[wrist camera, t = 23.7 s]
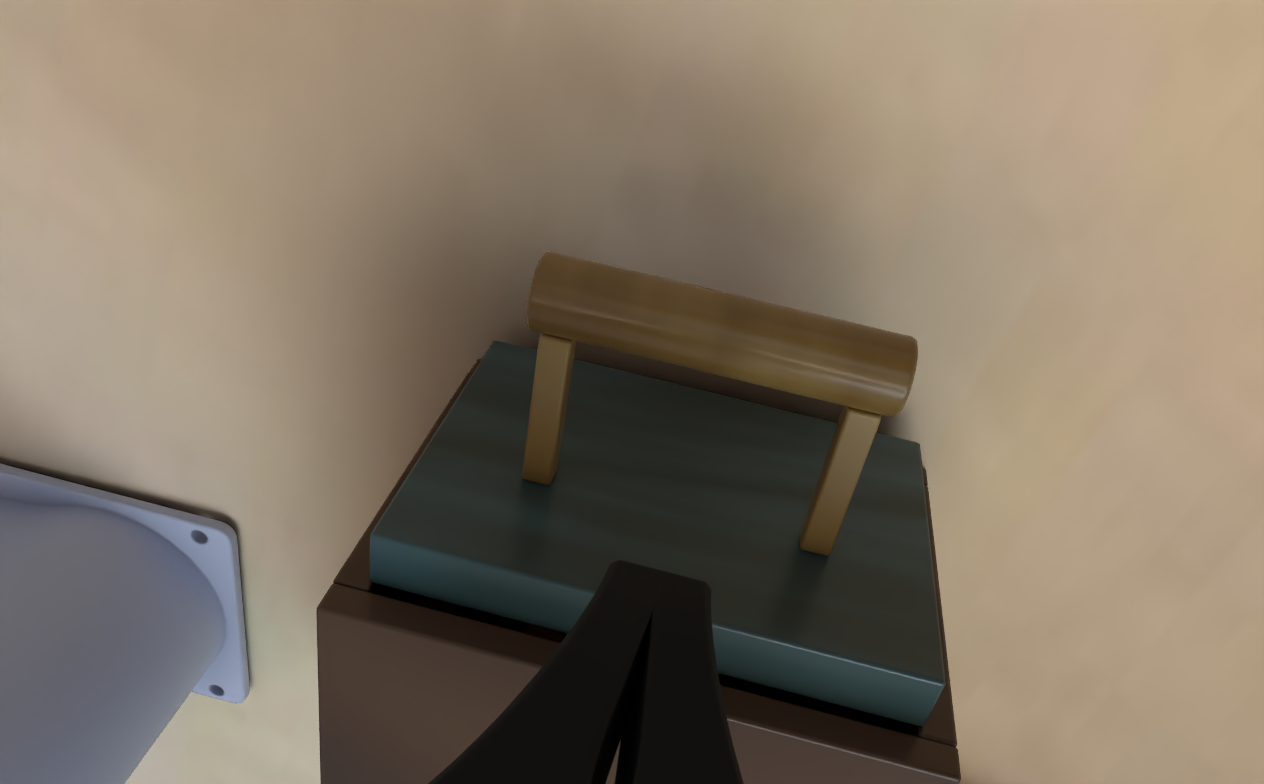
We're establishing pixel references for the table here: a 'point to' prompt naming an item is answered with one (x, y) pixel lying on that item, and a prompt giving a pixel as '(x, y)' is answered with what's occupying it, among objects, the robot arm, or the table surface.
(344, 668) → the cabinet
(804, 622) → the drawer
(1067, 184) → the table surface
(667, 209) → the table surface
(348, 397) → the table surface
